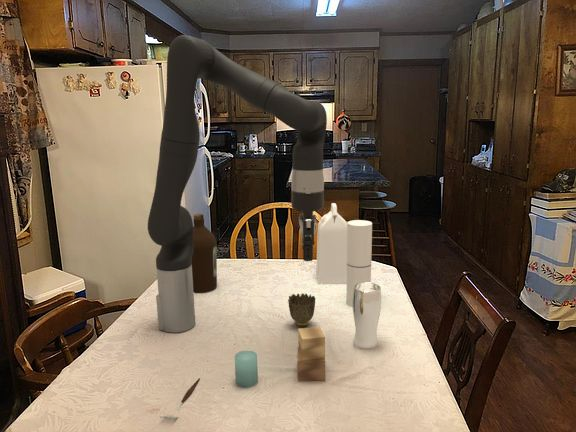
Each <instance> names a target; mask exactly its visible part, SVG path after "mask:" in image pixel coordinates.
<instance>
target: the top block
mask: <svg viewBox="0 0 576 432" xmlns="http://www.w3.org/2000/svg"><path fill="white" fill-rule="evenodd" d="M297 335H298V336H297V344H298V345H297V351H298V350H299V352H300V355H301V358H302V360H313V359H324V358H325V359H326V336H325V333H324V332H323V330H322V328H321V326H314V327H299V328H298V329H297Z"/></svg>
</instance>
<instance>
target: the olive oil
mask: <svg viewBox="0 0 576 432" xmlns="http://www.w3.org/2000/svg"><path fill="white" fill-rule="evenodd" d="M204 215H205V214H203V213H195V214H193V218H192V221H193V239H194V251H193V255H192V277H193V292H194V294H195V293H196V294H198V293H199V294H204V293H209V292H212V291H214V290H216V289H217V288H218V274H217V273H218V272H217V271H218V268H217V267H218V263H217V261H218V257H217V256H218V255H217V253H218V251H217V250H218V245H217V244H218V242H217V239H216V236H215V235H214V233H213V232H212V231H210V229H209V228H207V227H206V225H205V218H204Z"/></svg>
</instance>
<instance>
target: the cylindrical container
mask: <svg viewBox="0 0 576 432" xmlns="http://www.w3.org/2000/svg"><path fill="white" fill-rule="evenodd" d="M346 222H347V284H346V302H345V303H346V305H347V306H349V307H351V308H353V305H352V301H353V289H354V285H355V284H357V283H362V282H370V283H372V247H373V246H372V245H373V244H372V243H373V222H372V221H370V220H364V219H362V220H361V219H353V220H349V221H346Z"/></svg>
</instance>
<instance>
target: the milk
mask: <svg viewBox="0 0 576 432" xmlns="http://www.w3.org/2000/svg"><path fill="white" fill-rule="evenodd" d="M347 222H348V221H346V219H345V218H343V217H342V215H341V214H339V212H338V206H337V204H336V202H335V203H334V202H332V203H331V204H330V211H329V212H327V213H325V214H324V215H323V216H322V217H321V218H320V220H319V222H318V223H317V237H316V241H317V242H316V243H317V244H316V272H315V273H316V280H317V285H347Z"/></svg>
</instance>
